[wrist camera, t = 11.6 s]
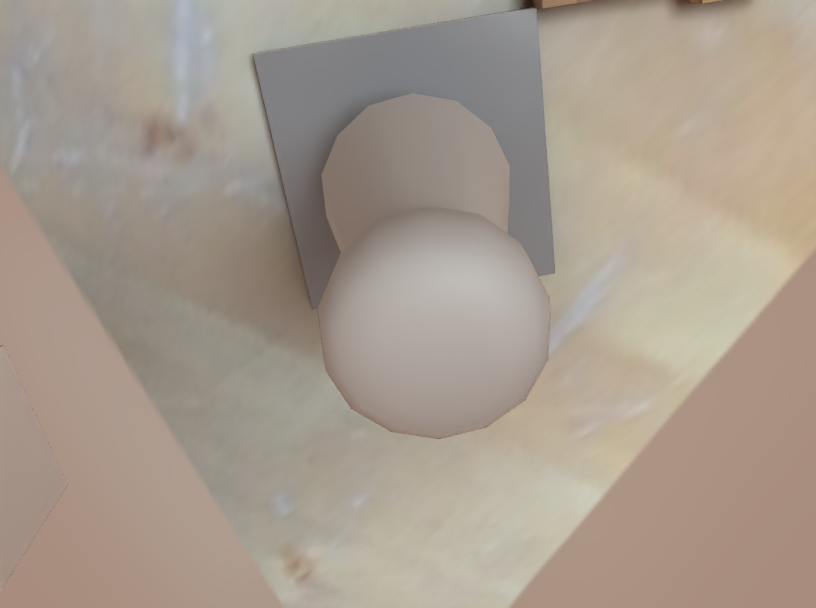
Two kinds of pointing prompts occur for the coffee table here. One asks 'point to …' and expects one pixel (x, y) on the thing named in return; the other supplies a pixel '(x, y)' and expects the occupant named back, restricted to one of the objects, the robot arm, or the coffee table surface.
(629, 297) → the coffee table surface
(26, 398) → the robot arm
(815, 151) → the coffee table surface
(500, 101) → the coaster
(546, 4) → the brown wooden frame
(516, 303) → the salt shaker
